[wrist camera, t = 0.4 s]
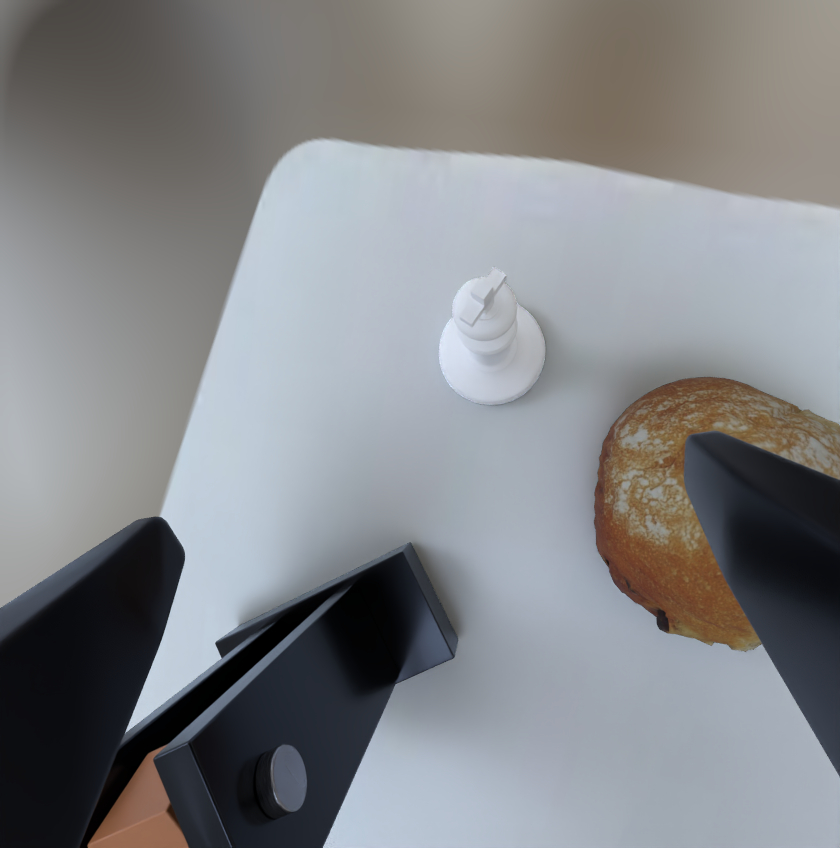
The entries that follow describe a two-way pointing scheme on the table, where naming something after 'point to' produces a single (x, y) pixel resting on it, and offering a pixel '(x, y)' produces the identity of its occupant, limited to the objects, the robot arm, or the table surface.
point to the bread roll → (671, 507)
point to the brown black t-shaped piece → (141, 814)
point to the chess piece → (491, 343)
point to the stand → (288, 710)
